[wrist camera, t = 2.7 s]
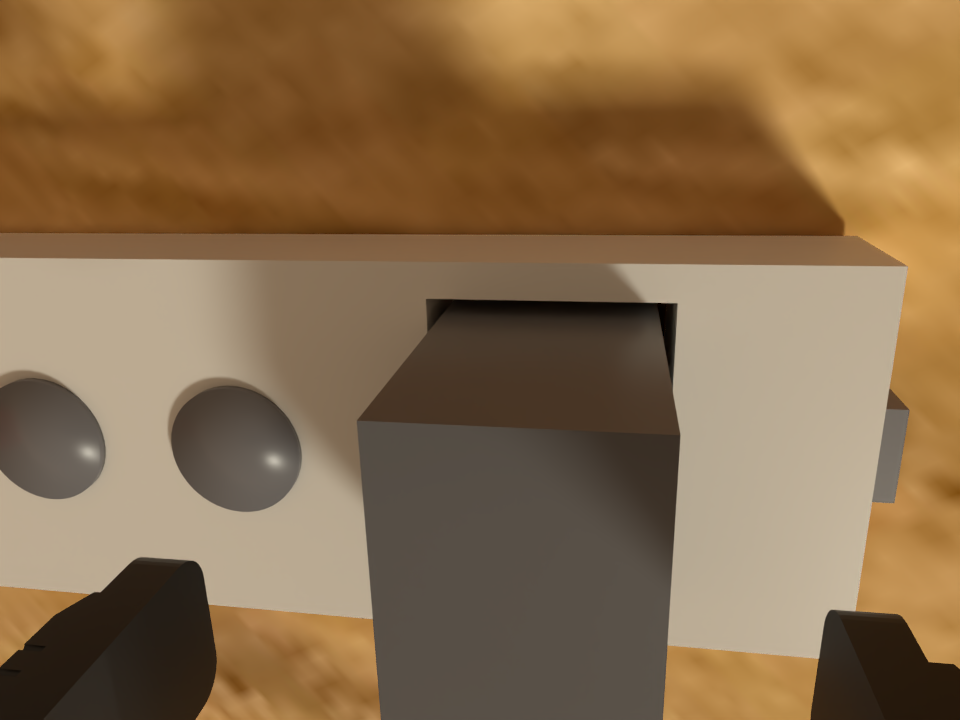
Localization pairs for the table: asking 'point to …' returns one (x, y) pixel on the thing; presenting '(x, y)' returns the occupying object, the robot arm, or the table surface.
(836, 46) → the table surface
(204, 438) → the power strip
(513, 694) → the charcoal plug
